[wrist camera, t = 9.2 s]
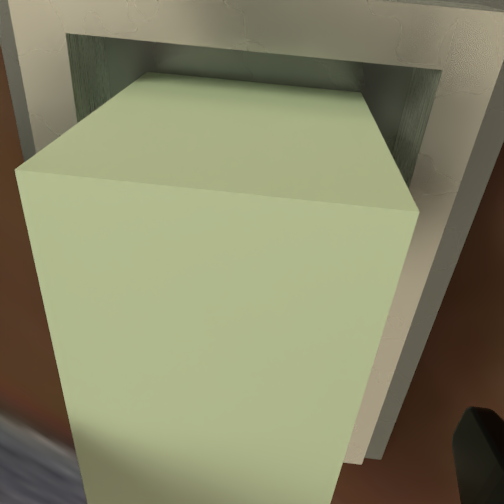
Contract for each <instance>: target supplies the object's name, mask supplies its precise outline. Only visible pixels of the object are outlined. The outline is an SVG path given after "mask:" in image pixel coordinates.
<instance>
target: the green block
mask: <svg viewBox="0 0 504 504" xmlns="http://www.w3.org/2000/svg"><path fill="white" fill-rule="evenodd" d="M15 174H16V179H17V183H18V188H19V192H20V197H21V201H22V206H23V211H24V215H25V220H26V224H27V229H28V234H29V238H30V243H31V247H32V252H33V257H34V261H35V266H36V270H37V275H38V279H39V284H40V289H41V293H42V298H43V302H44V307H45V312H46V316H47V321H48V325H49V330H50V335H51V339H52V344H53V348H54V353H55V358H56V362H57V367H58V371H59V376H60V380H61V385H62V390H63V394H64V399H65V403H66V408H67V413H68V417H69V422H70V426H71V431H72V436H73V440H74V445H75V449H76V454H77V459H78V463H79V468H80V472H81V477H82V481H83V486H84V491H85V495H86V500H87V504H330V502H331V499H332V496H333V493H334V489H335V486H336V483H337V480H338V476H339V473H340V470H341V467H342V463H343V460H344V457H345V454H346V450H347V447H348V444H349V441H350V437H351V434H352V431H353V427H354V424H355V421H356V418H357V414H358V411H359V408H360V405H361V401H362V398H363V395H364V392H365V388H366V385H367V382H368V379H369V375H370V372H371V369H372V366H373V362H374V359H375V356H376V352H377V349H378V346H379V343H380V339H381V336H382V333H383V330H384V326H385V323H386V320H387V317H388V313H389V310H390V307H391V304H392V300H393V297H394V294H395V291H396V287H397V284H398V281H399V277H400V274H401V271H402V268H403V264H404V261H405V258H406V255H407V251H408V248H409V245H410V242H411V238H412V235H413V232H414V229H415V225H416V222H417V219H418V216H419V210H418V208H417V206H416V204H415V202H414V200H413V198H412V196H411V193H410V191H409V189H408V187H407V185H406V183H405V181H404V179H403V177H402V175H401V173H400V171H399V169H398V167H397V165H396V163H395V161H394V159H393V157H392V155H391V153H390V151H389V149H388V147H387V145H386V143H385V141H384V138H383V136H382V134H381V132H380V130H379V128H378V126H377V124H376V122H375V120H374V118H373V116H372V114H371V112H370V110H369V108H368V106H367V104H366V102H365V100H364V98H363V96H362V94H361V93H360V92H349V91H339V90H329V89H319V88H308V87H298V86H288V85H277V84H267V83H257V82H247V81H236V80H226V79H216V78H205V77H195V76H185V75H175V74H164V73H154V72H146V73H145V74H144V75H142V76H141V77H140V78H138V79H137V80H136V81H134V82H133V83H132V84H130V85H129V86H127V87H126V88H125V89H123V90H122V91H121V92H119V93H118V94H117V95H115V96H114V97H113V98H111V99H110V100H108V101H107V102H106V103H104V104H103V105H102V106H100V107H99V108H98V109H96V110H95V111H94V112H92V113H91V114H89V115H88V116H87V117H85V118H84V119H83V120H81V121H80V122H79V123H77V124H76V125H75V126H73V127H72V128H70V129H69V130H68V131H66V132H65V133H64V134H62V135H61V136H60V137H58V138H57V139H56V140H54V141H53V142H51V143H50V144H49V145H47V146H46V147H45V148H43V149H42V150H41V151H39V152H38V153H37V154H35V155H34V156H33V157H31V158H30V159H28V160H27V161H26V162H24V163H23V164H22V165H20V166H19V167H18V168H16V169H15Z"/></svg>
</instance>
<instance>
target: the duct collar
mask: <svg viewBox="0 0 504 504" xmlns="http://www.w3.org/2000/svg"><path fill="white" fill-rule="evenodd" d="M0 43H1V48H2V53H3V58H4V63H5V68H6V73H7V78H8V83H9V88H10V93H11V98H12V103H13V108H14V113H15V118H16V123H17V128H18V133H19V138H20V143H21V148H22V153H23V158H24V162H26V161H27V160H28V159H30V158H31V157H33V156H34V155H35V154H37V153H38V152H39V151H41V150H42V149H43V148H45V147H46V146H47V145H49V144H50V143H51V142H53V141H54V140H56V139H57V138H58V137H60V136H61V135H62V134H64V133H65V132H66V131H68V130H69V129H70V128H72V127H73V126H75V125H76V124H77V123H79V122H80V121H81V120H83V119H84V118H85V117H87V116H88V115H89V114H91V113H92V112H94V111H95V110H96V109H98V108H99V107H100V106H102V105H103V104H104V103H106V102H107V101H108V100H110V99H111V98H113V97H114V96H115V95H117V94H118V93H119V92H121V91H122V90H123V89H125V88H126V87H127V86H129V85H130V84H132V83H133V82H134V81H136V80H137V79H138V78H140V77H141V76H142V75H144V74H145V73H146V72H154V73H164V74H175V75H185V76H195V77H205V78H216V79H226V80H236V81H247V82H257V83H267V84H277V85H288V86H298V87H308V88H319V89H329V90H339V91H349V92H360V93H361V94H362V96H363V98H364V100H365V102H366V104H367V106H368V108H369V110H370V112H371V114H372V116H373V118H374V120H375V122H376V124H377V126H378V128H379V130H380V132H381V134H382V136H383V138H384V141H385V143H386V145H387V147H388V149H389V151H390V153H391V155H392V157H393V159H394V161H395V163H396V165H397V167H398V169H399V171H400V173H401V175H402V177H403V179H404V181H405V183H406V185H407V187H408V189H409V191H410V193H411V196H412V198H413V200H414V202H415V204H416V206H417V208H418V210H419V216H418V219H417V222H416V225H415V229H414V232H413V235H412V238H411V242H410V245H409V248H408V251H407V255H406V258H405V261H404V264H403V268H402V271H401V274H400V277H399V281H398V284H397V287H396V291H395V294H394V297H393V300H392V304H391V307H390V310H389V313H388V317H387V320H386V323H385V326H384V330H383V333H382V336H381V339H380V343H379V346H378V349H377V352H376V356H375V359H374V362H373V366H372V369H371V372H370V375H369V379H368V382H367V385H366V388H365V392H364V395H363V398H362V401H361V405H360V408H359V411H358V414H357V418H356V421H355V424H354V427H353V431H352V434H351V437H350V441H349V444H348V447H347V450H346V454H345V457H344V460H343V462H344V463H352V464H360V465H362V463H363V460H364V458H370V459H379V460H381V458H382V456H383V453H384V451H385V448H386V445H387V443H388V440H389V438H390V435H391V432H392V430H393V427H394V425H395V422H396V419H397V417H398V414H399V412H400V409H401V407H402V404H403V401H404V399H405V396H406V394H407V391H408V388H409V386H410V383H411V381H412V378H413V375H414V373H415V370H416V368H417V365H418V362H419V360H420V357H421V355H422V352H423V349H424V347H425V344H426V342H427V339H428V336H429V334H430V331H431V329H432V326H433V323H434V321H435V318H436V316H437V313H438V310H439V308H440V305H441V303H442V300H443V297H444V295H445V292H446V290H447V287H448V284H449V282H450V279H451V277H452V274H453V271H454V269H455V266H456V264H457V261H458V258H459V256H460V253H461V251H462V248H463V245H464V243H465V240H466V238H467V235H468V233H469V230H470V227H471V225H472V222H473V220H474V217H475V214H476V212H477V209H478V207H479V204H480V201H481V199H482V196H483V194H484V191H485V188H486V186H487V183H488V181H489V178H490V175H491V173H492V170H493V168H494V165H495V162H496V160H497V157H498V155H499V152H500V149H501V147H502V144H503V142H504V0H0Z"/></svg>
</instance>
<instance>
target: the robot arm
mask: <svg viewBox="0 0 504 504" xmlns="http://www.w3.org/2000/svg"><path fill="white" fill-rule="evenodd" d="M452 448H453V454H454V461H455V467H456V474H457V481H458V487H459V494H460V500H461V504H504V421H503V420H502V419H501V418H500V416H499V415H498V414H497V413H495V412H494V411H493V410H491V409H488V408H480V407H468V408H467V409H466V410H465V411H464V413H463V415H462V417H461V419H460V421H459V423H458V425H457V427H456V429H455V431H454V434H453V437H452Z"/></svg>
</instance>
